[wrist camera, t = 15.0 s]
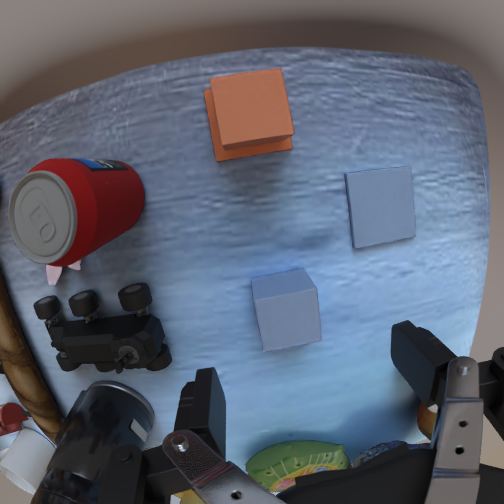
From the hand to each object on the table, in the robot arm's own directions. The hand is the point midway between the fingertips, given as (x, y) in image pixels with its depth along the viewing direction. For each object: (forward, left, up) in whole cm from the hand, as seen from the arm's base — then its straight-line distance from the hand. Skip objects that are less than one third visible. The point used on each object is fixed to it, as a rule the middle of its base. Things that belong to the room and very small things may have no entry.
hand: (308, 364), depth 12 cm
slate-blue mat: (+11, +3, -16) cm, 20 cm away
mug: (-47, -26, -16) cm, 56 cm away
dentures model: (-42, -16, -14) cm, 47 cm away
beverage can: (-13, +9, -16) cm, 22 cm away
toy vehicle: (-18, -4, -16) cm, 25 cm away
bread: (-33, -10, -16) cm, 38 cm away
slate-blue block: (0, -4, -16) cm, 16 cm away
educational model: (+5, -35, -11) cm, 37 cm away
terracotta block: (0, +13, -15) cm, 20 cm away
